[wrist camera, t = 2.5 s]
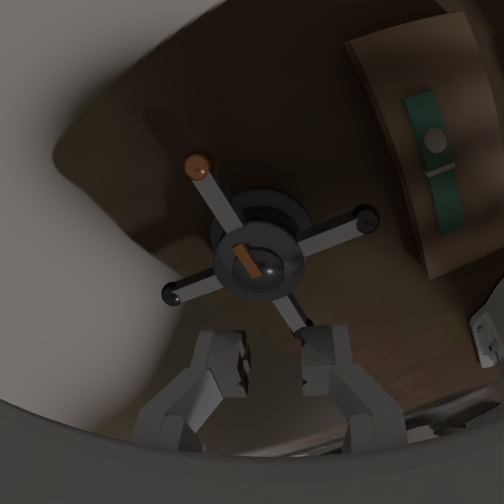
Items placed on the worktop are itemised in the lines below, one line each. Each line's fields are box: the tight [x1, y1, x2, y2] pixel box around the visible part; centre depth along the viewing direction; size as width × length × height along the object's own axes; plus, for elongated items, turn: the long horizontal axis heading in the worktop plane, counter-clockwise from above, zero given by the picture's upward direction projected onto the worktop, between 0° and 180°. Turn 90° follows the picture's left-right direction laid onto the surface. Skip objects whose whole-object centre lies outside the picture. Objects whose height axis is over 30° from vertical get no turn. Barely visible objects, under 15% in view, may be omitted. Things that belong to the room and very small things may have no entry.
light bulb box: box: [465, 403, 504, 429], centre depth 47 cm, size 11×7×11 cm, turn 129°
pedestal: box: [210, 188, 312, 263], centre depth 28 cm, size 9×9×1 cm
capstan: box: [161, 150, 380, 340], centre depth 25 cm, size 20×20×5 cm
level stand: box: [343, 11, 504, 280], centre depth 20 cm, size 22×10×4 cm, turn 29°
